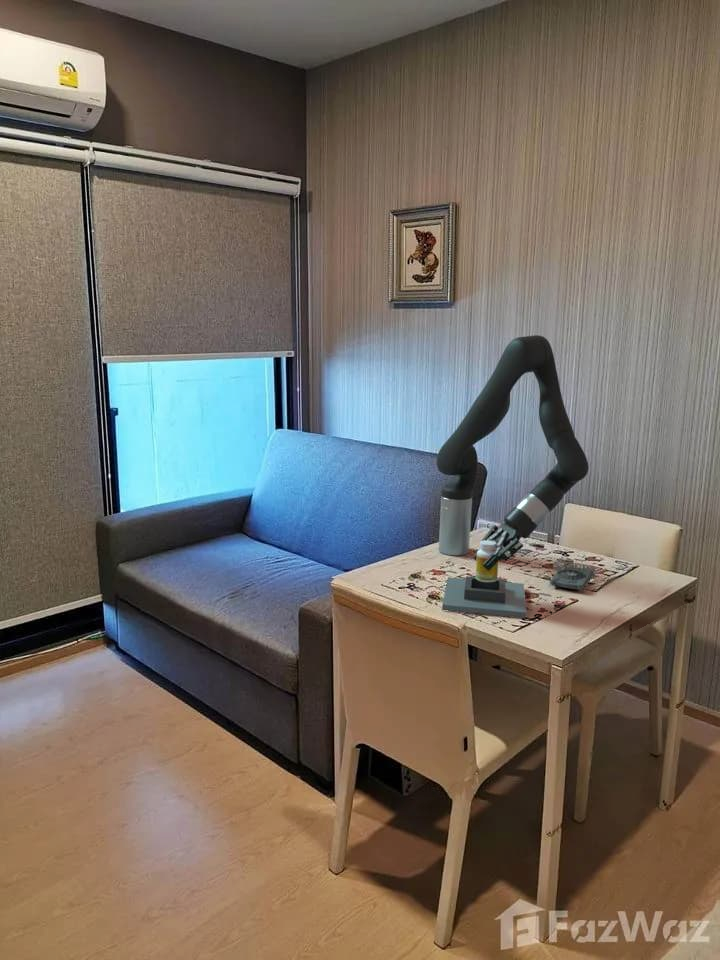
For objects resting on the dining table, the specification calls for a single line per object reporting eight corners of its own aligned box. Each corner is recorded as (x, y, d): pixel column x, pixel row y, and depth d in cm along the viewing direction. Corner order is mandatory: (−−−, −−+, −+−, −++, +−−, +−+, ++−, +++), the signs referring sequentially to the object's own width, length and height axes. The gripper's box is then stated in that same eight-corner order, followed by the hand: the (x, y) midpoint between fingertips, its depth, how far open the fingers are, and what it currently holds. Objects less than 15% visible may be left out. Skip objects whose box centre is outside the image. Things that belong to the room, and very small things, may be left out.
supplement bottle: (497, 583, 185) (499, 546, 183) (475, 582, 186) (477, 544, 184) (497, 576, 190) (499, 540, 188) (475, 575, 191) (477, 538, 189)
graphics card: (554, 558, 213) (597, 565, 208) (553, 571, 214) (596, 577, 209) (539, 576, 199) (585, 583, 193) (538, 590, 200) (584, 597, 194)
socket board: (447, 582, 201) (448, 568, 200) (523, 589, 197) (524, 574, 196) (442, 610, 181) (442, 595, 181) (525, 618, 178) (527, 602, 177)
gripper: (505, 499, 193) (460, 546, 192) (531, 513, 179) (482, 563, 179) (522, 518, 195) (478, 564, 195) (549, 533, 182) (501, 583, 181)
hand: (480, 563), depth 187 cm, fingers closed on supplement bottle, 5 cm apart
